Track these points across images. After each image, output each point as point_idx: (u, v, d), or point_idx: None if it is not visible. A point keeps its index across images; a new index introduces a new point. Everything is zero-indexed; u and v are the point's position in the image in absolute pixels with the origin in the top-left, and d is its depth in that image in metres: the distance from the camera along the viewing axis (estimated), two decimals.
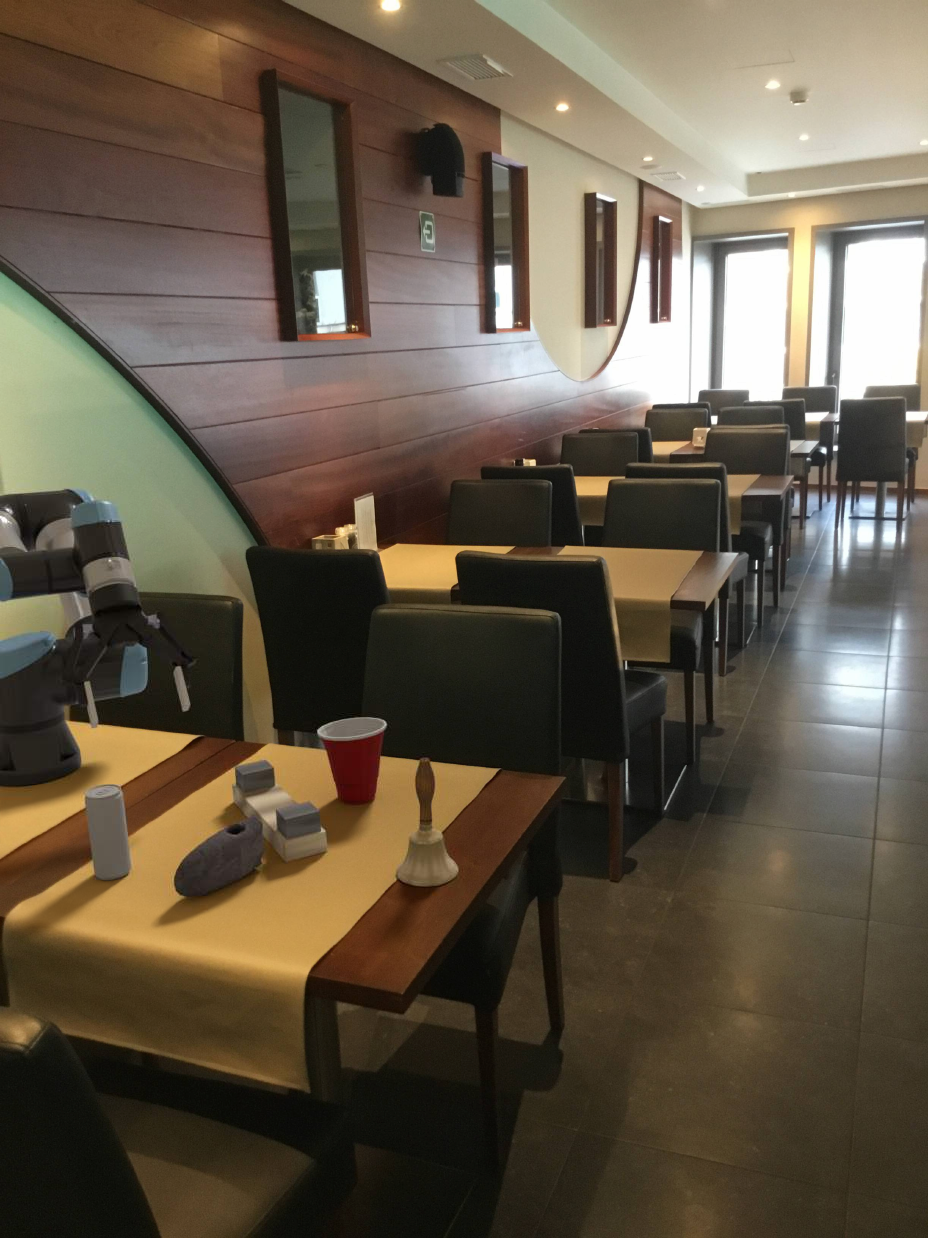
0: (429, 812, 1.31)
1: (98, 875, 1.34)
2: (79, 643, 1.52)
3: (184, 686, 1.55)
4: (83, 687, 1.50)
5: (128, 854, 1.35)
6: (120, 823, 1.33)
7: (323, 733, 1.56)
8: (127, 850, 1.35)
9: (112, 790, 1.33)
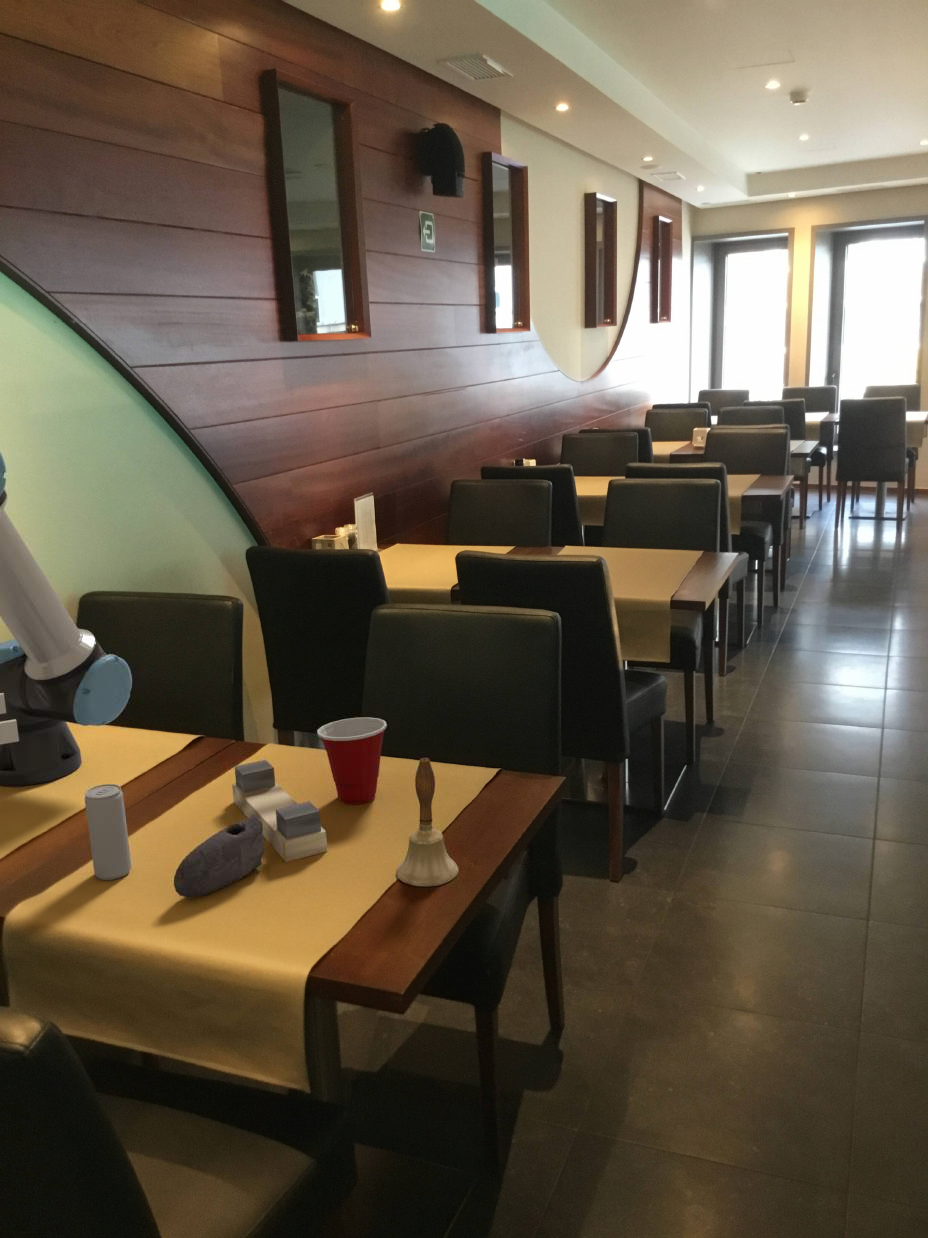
0: (429, 812, 1.31)
1: (98, 875, 1.34)
2: None
3: None
4: None
5: (128, 854, 1.35)
6: (120, 823, 1.33)
7: (323, 733, 1.56)
8: (127, 850, 1.35)
9: (112, 790, 1.33)
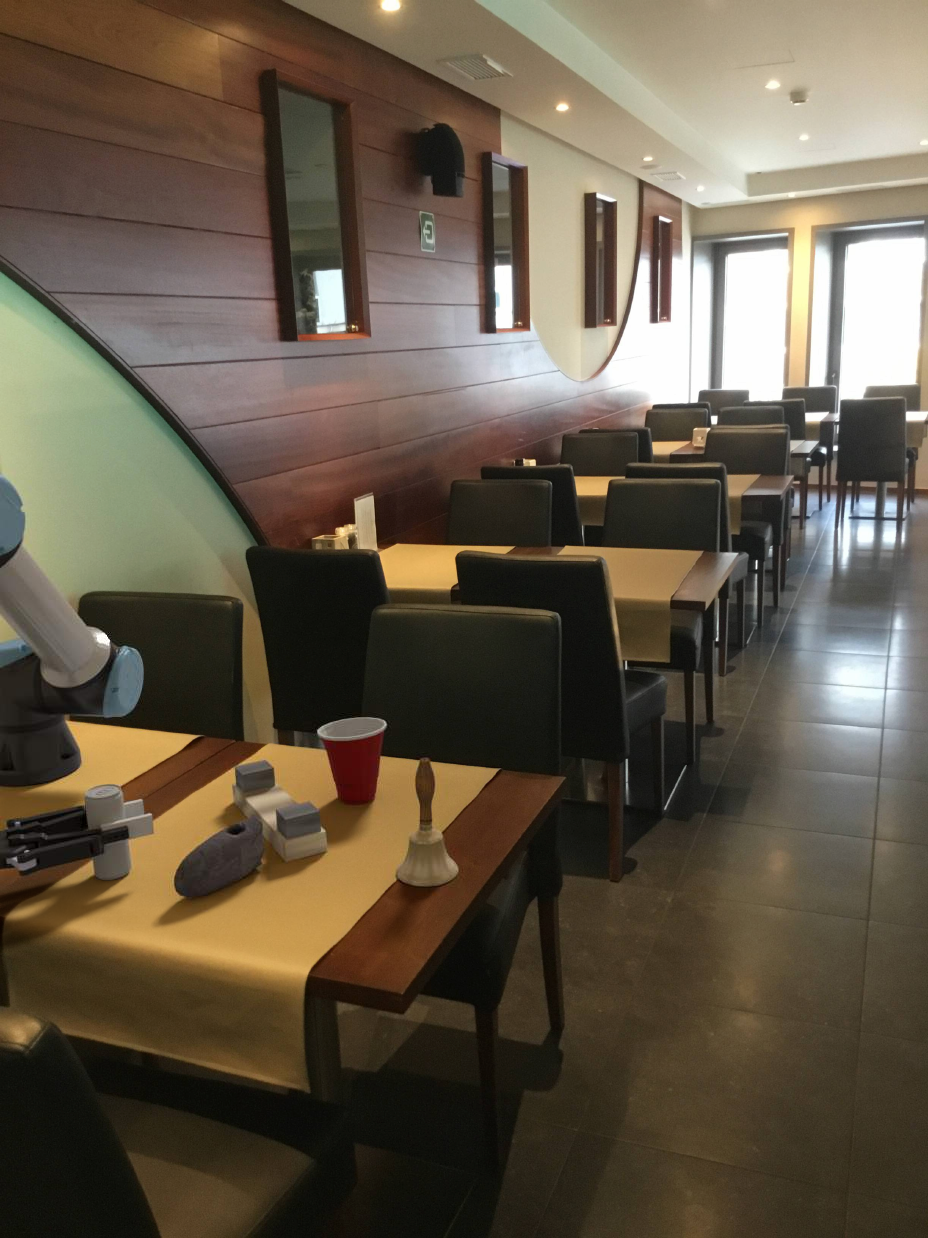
0: (429, 812, 1.31)
1: (98, 875, 1.34)
2: None
3: (130, 838, 1.33)
4: None
5: (128, 854, 1.35)
6: None
7: (323, 733, 1.56)
8: (127, 850, 1.35)
9: (112, 790, 1.33)
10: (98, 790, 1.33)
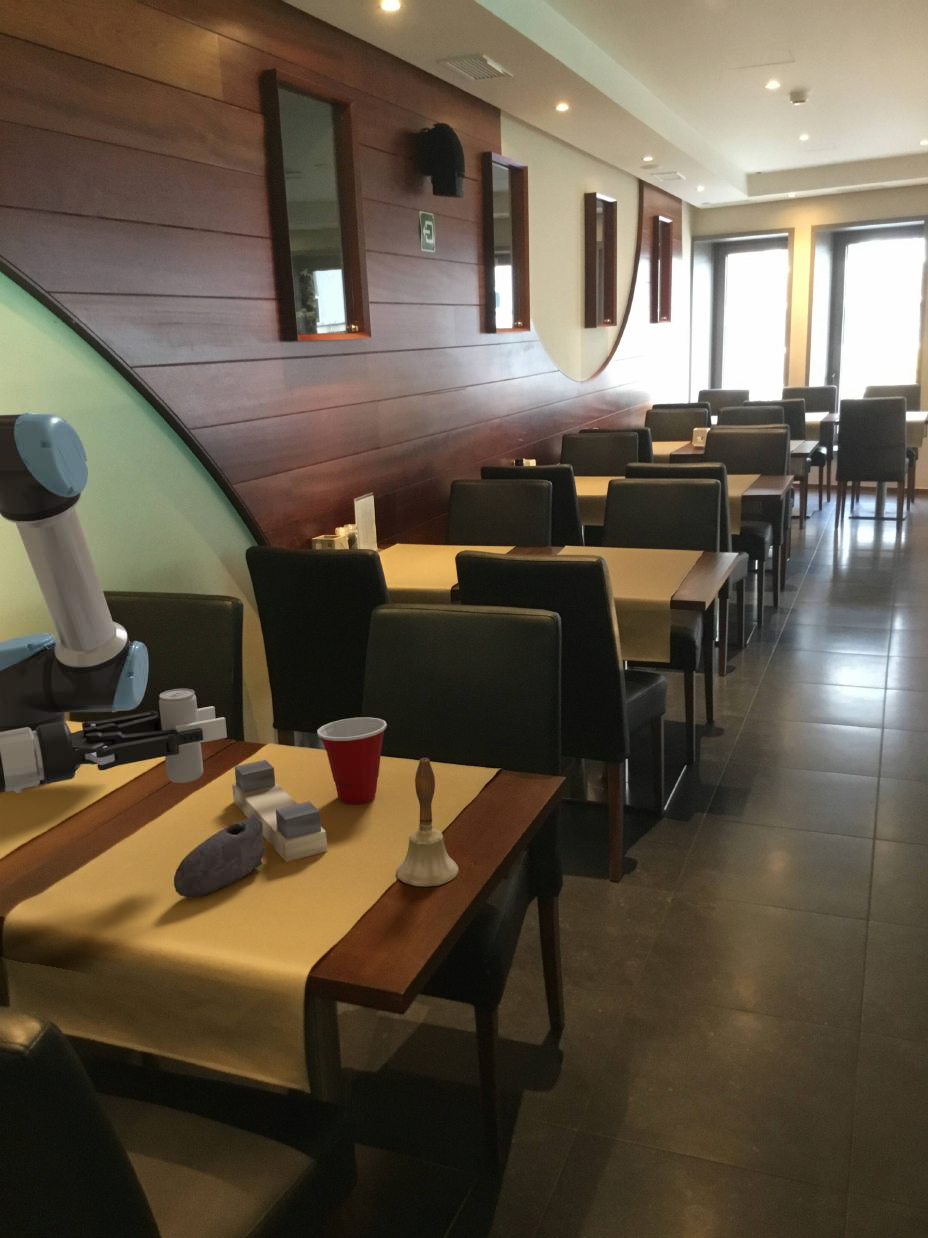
0: (429, 812, 1.31)
1: (171, 777, 1.35)
2: None
3: (203, 741, 1.34)
4: None
5: (200, 758, 1.36)
6: None
7: (323, 733, 1.56)
8: (199, 753, 1.36)
9: (185, 693, 1.35)
10: (172, 693, 1.35)
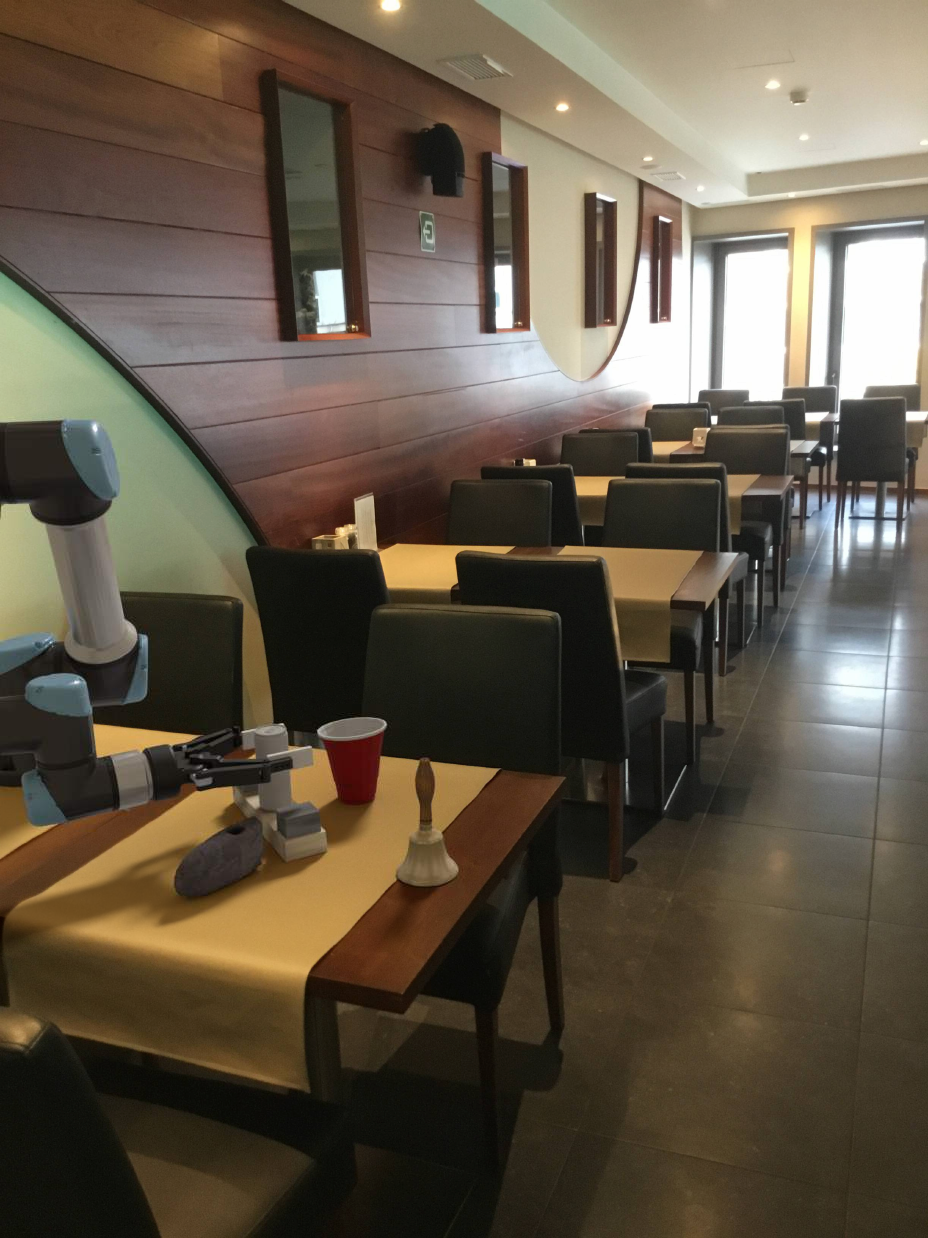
0: (429, 812, 1.31)
1: (264, 807, 1.46)
2: None
3: (292, 769, 1.42)
4: None
5: (290, 788, 1.48)
6: None
7: (323, 733, 1.56)
8: (290, 784, 1.47)
9: (278, 729, 1.46)
10: (265, 729, 1.46)
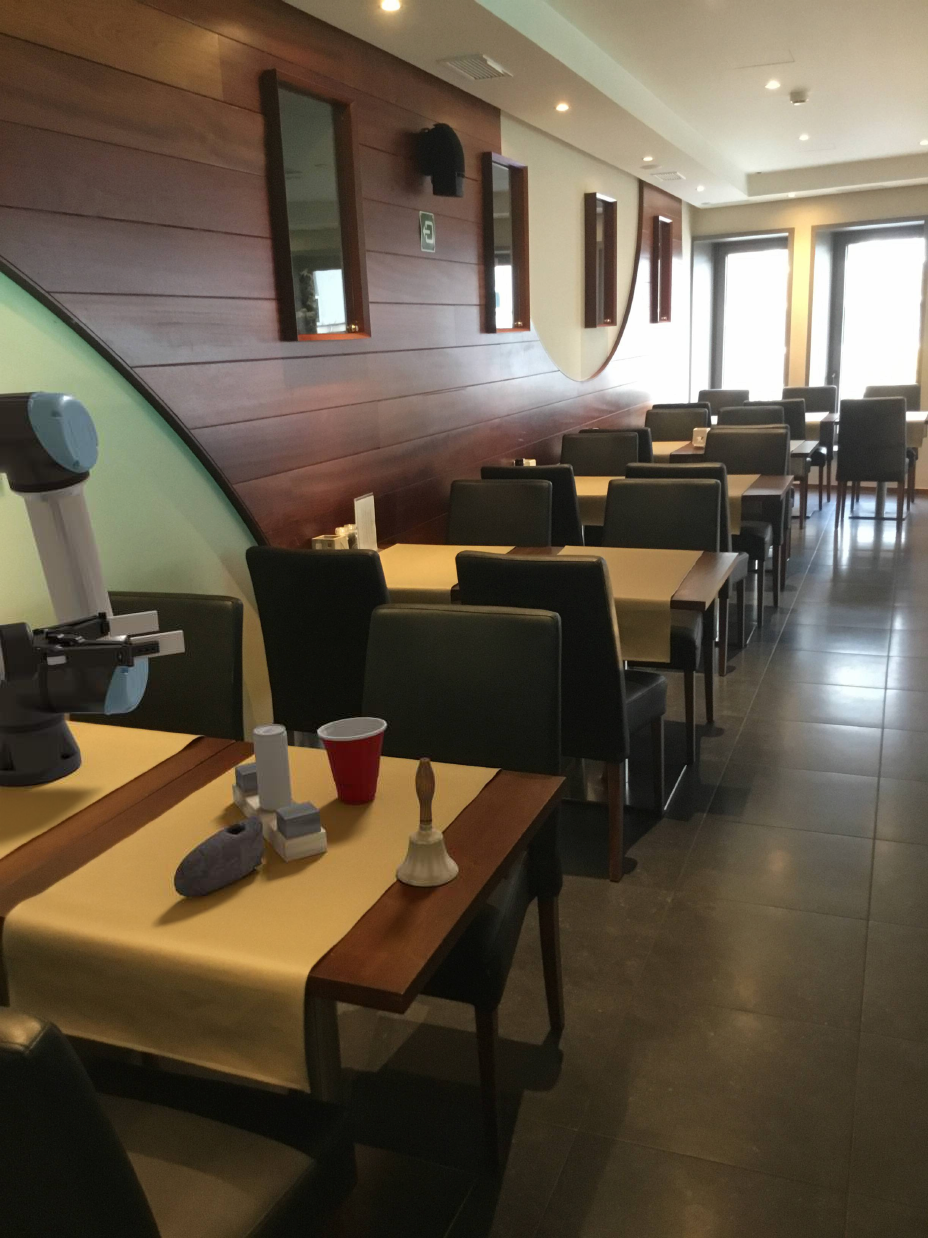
0: (429, 812, 1.31)
1: (264, 807, 1.46)
2: None
3: None
4: None
5: (290, 788, 1.48)
6: (285, 759, 1.46)
7: (323, 733, 1.56)
8: (289, 784, 1.47)
9: (277, 729, 1.46)
10: (264, 729, 1.46)
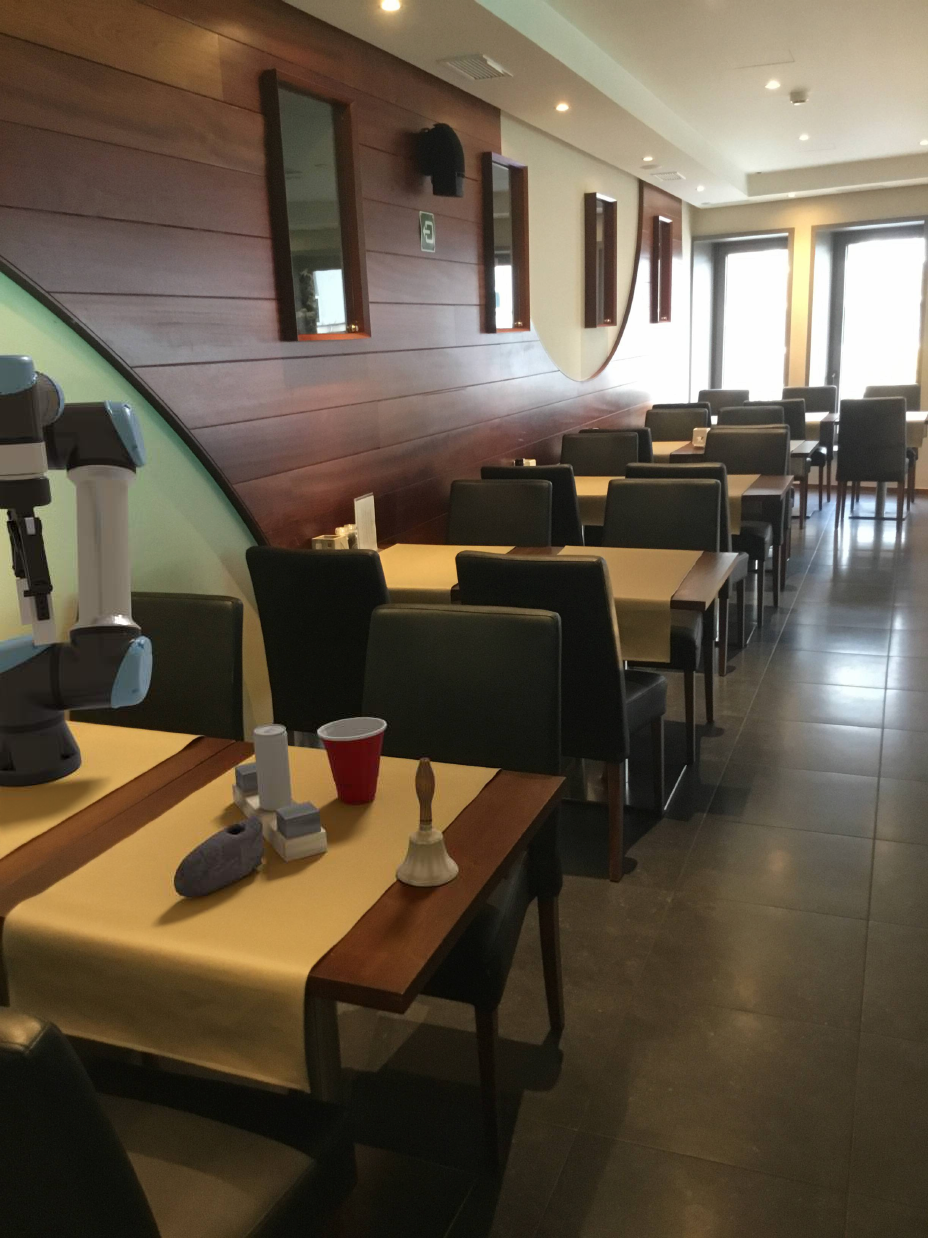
0: (429, 812, 1.31)
1: (264, 807, 1.46)
2: None
3: (31, 622, 1.29)
4: None
5: (290, 788, 1.48)
6: (285, 759, 1.46)
7: (323, 733, 1.56)
8: (289, 784, 1.47)
9: (277, 729, 1.46)
10: (265, 729, 1.46)
